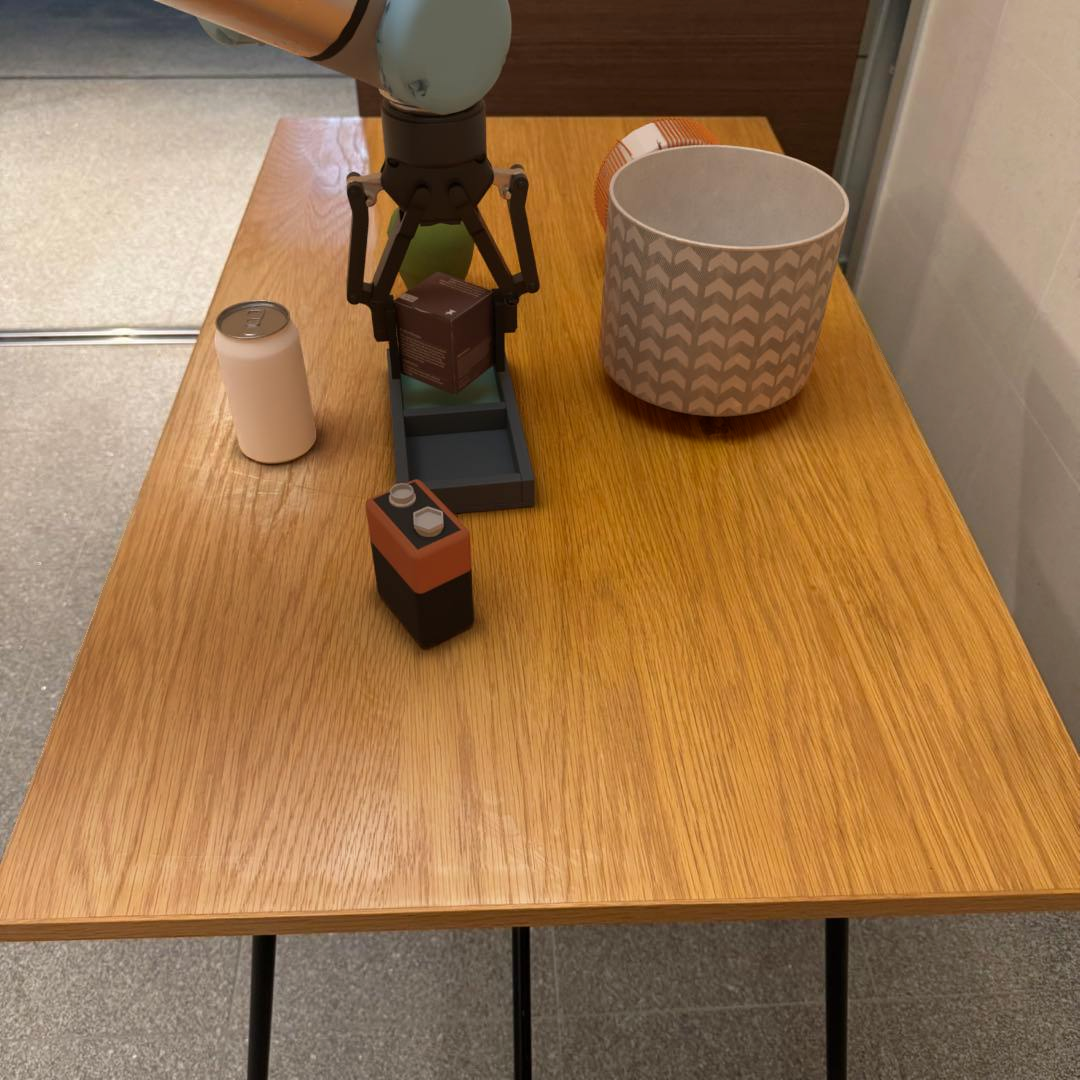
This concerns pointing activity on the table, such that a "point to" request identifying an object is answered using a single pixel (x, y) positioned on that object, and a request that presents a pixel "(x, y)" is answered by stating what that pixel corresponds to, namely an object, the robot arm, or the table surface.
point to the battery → (421, 561)
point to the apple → (436, 252)
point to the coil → (646, 151)
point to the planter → (717, 276)
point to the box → (445, 332)
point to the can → (265, 381)
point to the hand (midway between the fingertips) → (447, 366)
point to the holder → (462, 442)
